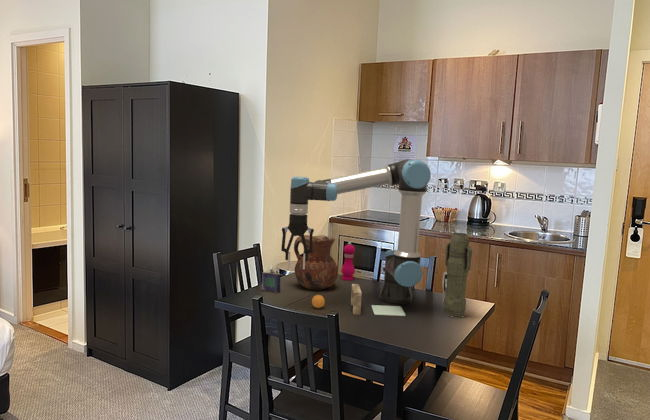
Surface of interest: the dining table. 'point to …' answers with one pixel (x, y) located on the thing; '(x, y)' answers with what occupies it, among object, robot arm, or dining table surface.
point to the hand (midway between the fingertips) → (296, 268)
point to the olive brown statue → (457, 274)
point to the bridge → (356, 299)
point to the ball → (318, 301)
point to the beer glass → (444, 286)
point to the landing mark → (388, 310)
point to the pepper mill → (348, 263)
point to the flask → (271, 281)
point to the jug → (316, 263)
